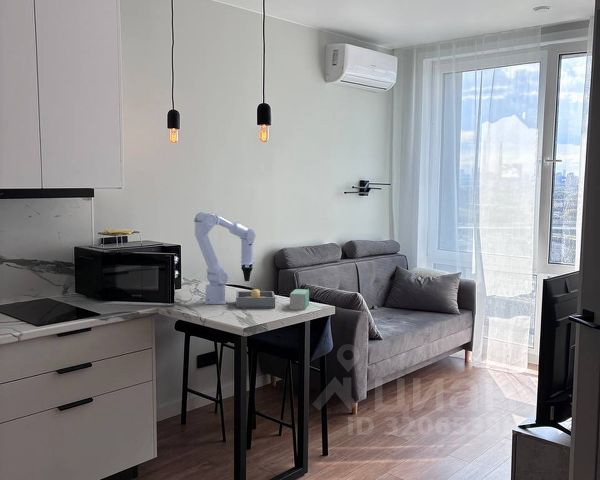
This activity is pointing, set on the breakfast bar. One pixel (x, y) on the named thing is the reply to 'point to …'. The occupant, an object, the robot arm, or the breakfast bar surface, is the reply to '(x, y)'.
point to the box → (299, 299)
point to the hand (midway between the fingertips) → (246, 279)
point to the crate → (255, 300)
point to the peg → (255, 293)
